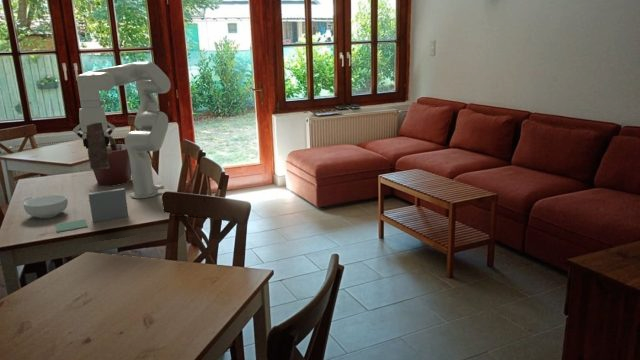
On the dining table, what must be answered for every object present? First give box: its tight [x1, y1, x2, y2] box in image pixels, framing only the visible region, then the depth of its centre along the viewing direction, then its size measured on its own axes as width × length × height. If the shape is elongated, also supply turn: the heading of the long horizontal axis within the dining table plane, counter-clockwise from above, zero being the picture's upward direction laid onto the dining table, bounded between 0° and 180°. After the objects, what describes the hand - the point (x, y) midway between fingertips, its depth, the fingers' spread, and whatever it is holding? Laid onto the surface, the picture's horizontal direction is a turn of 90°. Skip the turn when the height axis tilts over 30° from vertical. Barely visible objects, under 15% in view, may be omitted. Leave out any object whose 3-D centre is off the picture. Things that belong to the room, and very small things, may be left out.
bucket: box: [87, 135, 132, 187], centre depth 266 cm, size 24×22×25 cm
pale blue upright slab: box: [87, 187, 129, 223], centre depth 209 cm, size 14×2×12 cm, turn 119°
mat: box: [55, 218, 89, 233], centre depth 203 cm, size 11×10×1 cm
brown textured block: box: [86, 123, 110, 170], centre depth 209 cm, size 8×7×20 cm
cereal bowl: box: [23, 194, 69, 219], centre depth 216 cm, size 17×17×7 cm
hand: (97, 146), depth 209 cm, fingers closed on brown textured block, 7 cm apart
